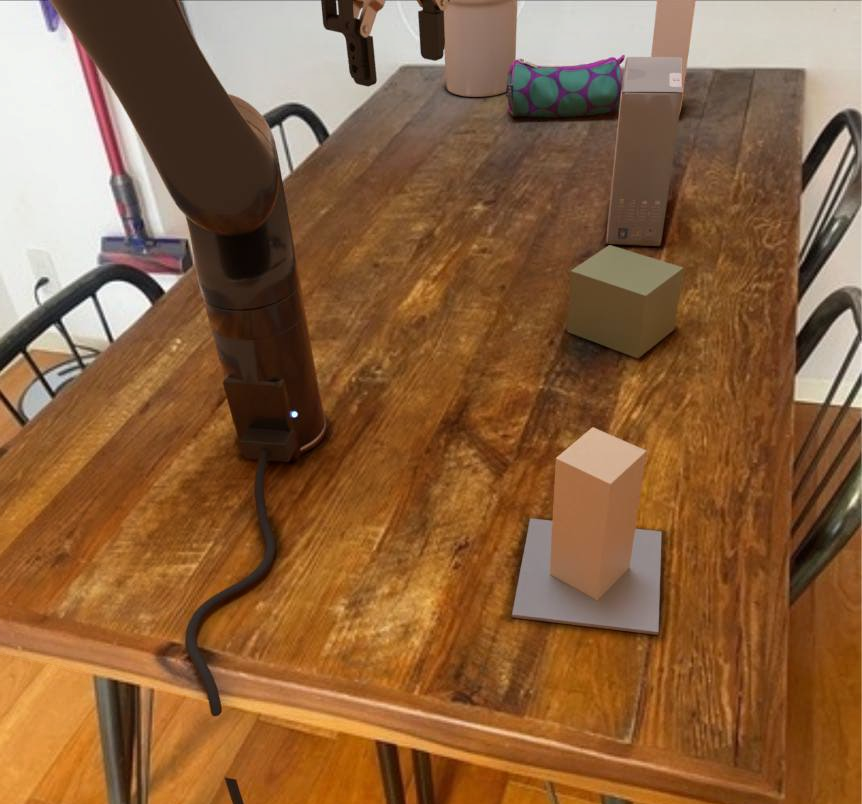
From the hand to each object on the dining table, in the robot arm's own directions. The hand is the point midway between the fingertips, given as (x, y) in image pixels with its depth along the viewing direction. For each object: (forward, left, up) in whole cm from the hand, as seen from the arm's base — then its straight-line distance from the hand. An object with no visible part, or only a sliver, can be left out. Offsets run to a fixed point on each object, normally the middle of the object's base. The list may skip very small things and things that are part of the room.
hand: (400, 71), depth 75 cm
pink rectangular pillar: (+90, -25, -33) cm, 99 cm away
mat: (-27, -21, -32) cm, 47 cm away
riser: (+14, -21, -32) cm, 41 cm away
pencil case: (+89, -7, -33) cm, 95 cm away
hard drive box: (+44, -22, -33) cm, 59 cm away
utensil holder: (+105, +11, -33) cm, 110 cm away
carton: (-27, -21, -26) cm, 43 cm away
